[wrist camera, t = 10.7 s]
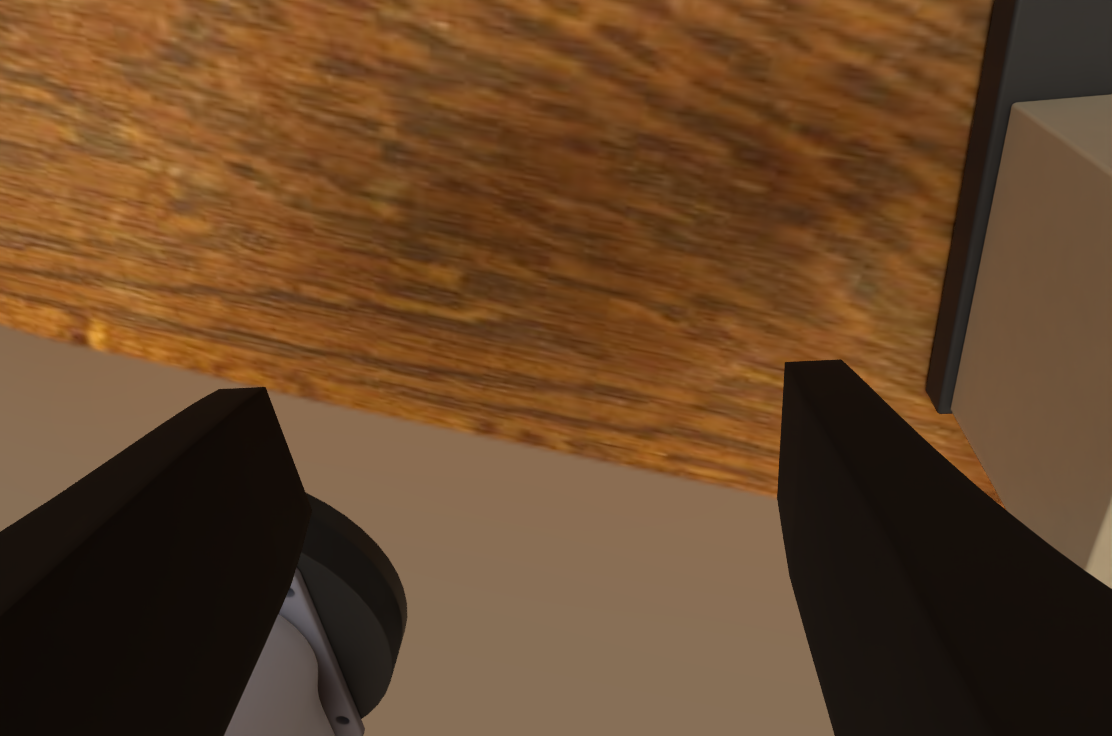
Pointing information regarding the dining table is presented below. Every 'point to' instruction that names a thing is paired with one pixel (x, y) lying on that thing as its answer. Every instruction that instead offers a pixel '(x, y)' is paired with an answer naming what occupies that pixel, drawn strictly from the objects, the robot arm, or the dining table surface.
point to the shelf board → (1008, 77)
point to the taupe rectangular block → (1047, 330)
